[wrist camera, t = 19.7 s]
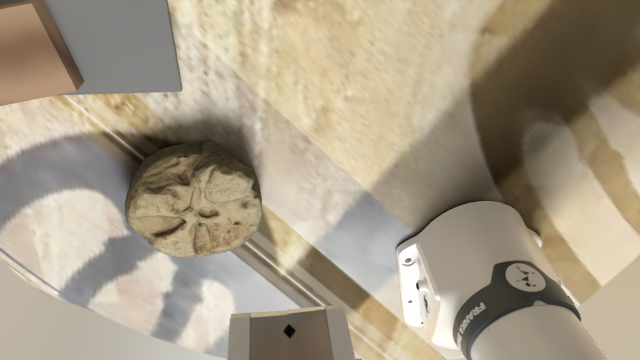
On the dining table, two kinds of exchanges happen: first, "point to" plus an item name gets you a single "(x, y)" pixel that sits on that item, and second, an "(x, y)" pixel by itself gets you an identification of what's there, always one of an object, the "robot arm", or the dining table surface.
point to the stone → (194, 200)
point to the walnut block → (33, 54)
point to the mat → (118, 44)
